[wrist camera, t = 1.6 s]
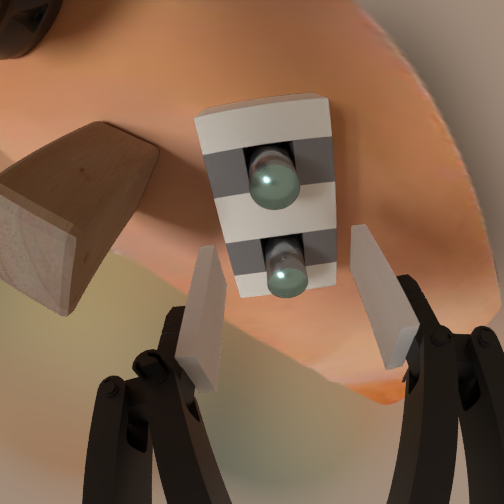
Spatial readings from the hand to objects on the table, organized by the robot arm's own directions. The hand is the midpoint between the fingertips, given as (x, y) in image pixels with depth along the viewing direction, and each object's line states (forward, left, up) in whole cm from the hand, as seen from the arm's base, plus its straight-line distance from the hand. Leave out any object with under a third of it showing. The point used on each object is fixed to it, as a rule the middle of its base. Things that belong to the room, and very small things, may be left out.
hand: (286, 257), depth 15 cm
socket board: (+5, 0, -21) cm, 22 cm away
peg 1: (0, 0, -16) cm, 16 cm away
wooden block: (-2, -19, -21) cm, 29 cm away
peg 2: (+10, 0, -16) cm, 19 cm away
